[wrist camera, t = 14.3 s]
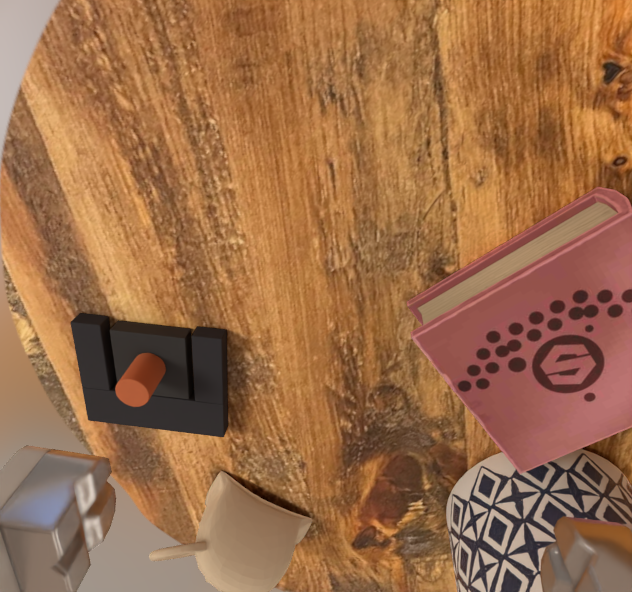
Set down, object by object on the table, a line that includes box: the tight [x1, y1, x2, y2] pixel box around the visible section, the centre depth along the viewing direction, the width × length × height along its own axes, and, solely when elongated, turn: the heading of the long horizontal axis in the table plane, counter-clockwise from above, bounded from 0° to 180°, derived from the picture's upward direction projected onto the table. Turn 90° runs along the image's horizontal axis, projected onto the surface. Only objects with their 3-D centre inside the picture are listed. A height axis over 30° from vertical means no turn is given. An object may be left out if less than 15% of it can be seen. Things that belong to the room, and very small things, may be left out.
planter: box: [446, 449, 632, 592], centre depth 39 cm, size 16×16×14 cm
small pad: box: [110, 321, 194, 407], centre depth 40 cm, size 6×6×5 cm
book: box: [407, 187, 632, 474], centre depth 35 cm, size 14×15×5 cm
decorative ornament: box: [149, 471, 313, 592], centre depth 46 cm, size 6×12×8 cm, turn 57°
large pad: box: [71, 313, 228, 437], centre depth 42 cm, size 12×10×2 cm
